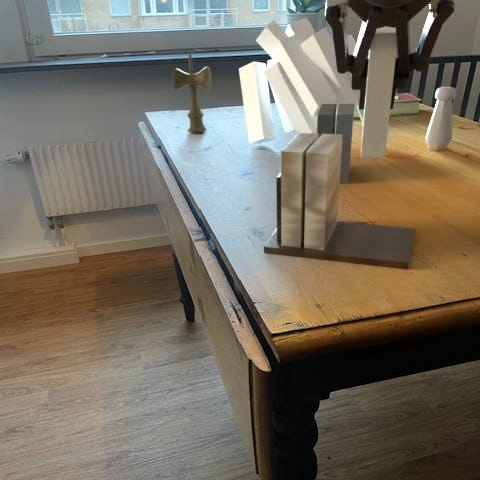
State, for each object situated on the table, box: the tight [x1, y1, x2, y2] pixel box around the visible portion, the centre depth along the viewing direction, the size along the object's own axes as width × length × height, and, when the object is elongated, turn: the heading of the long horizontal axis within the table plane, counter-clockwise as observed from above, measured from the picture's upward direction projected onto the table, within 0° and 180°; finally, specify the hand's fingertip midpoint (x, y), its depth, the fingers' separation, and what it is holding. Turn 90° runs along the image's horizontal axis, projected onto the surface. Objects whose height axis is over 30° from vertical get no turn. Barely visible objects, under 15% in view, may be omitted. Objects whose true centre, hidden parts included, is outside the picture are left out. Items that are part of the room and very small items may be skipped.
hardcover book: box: [353, 92, 423, 120], centre depth 149 cm, size 12×21×4 cm, turn 95°
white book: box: [360, 27, 398, 159], centre depth 64 cm, size 3×10×14 cm, turn 168°
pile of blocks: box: [238, 17, 393, 145], centre depth 123 cm, size 35×30×35 cm
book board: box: [263, 132, 416, 270], centre depth 73 cm, size 21×12×15 cm, turn 70°
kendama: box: [172, 52, 212, 134], centre depth 136 cm, size 6×10×20 cm, turn 80°
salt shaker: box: [425, 86, 457, 152], centre depth 113 cm, size 6×6×13 cm
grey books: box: [316, 104, 354, 185], centre depth 101 cm, size 6×10×13 cm, turn 168°
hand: (376, 100), depth 68 cm, fingers closed on white book, 3 cm apart
